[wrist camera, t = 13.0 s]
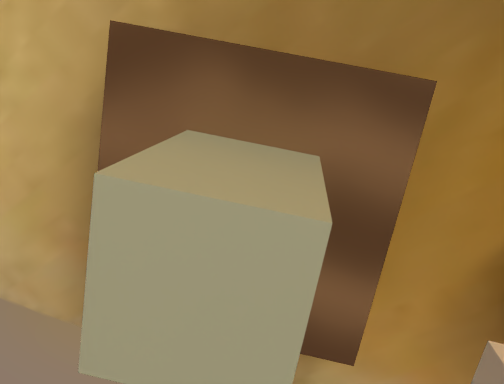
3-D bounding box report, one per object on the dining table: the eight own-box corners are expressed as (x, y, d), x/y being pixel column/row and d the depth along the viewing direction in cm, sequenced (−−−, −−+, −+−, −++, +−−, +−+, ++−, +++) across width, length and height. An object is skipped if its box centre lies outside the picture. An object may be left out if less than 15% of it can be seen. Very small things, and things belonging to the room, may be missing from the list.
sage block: (187, 129, 19) (94, 173, 11) (319, 156, 19) (332, 223, 10) (170, 250, 21) (78, 372, 12) (291, 277, 21) (283, 422, 12)
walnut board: (150, 31, 23) (110, 20, 18) (408, 80, 22) (437, 81, 18) (124, 264, 27) (86, 304, 22) (344, 313, 26) (353, 366, 21)
